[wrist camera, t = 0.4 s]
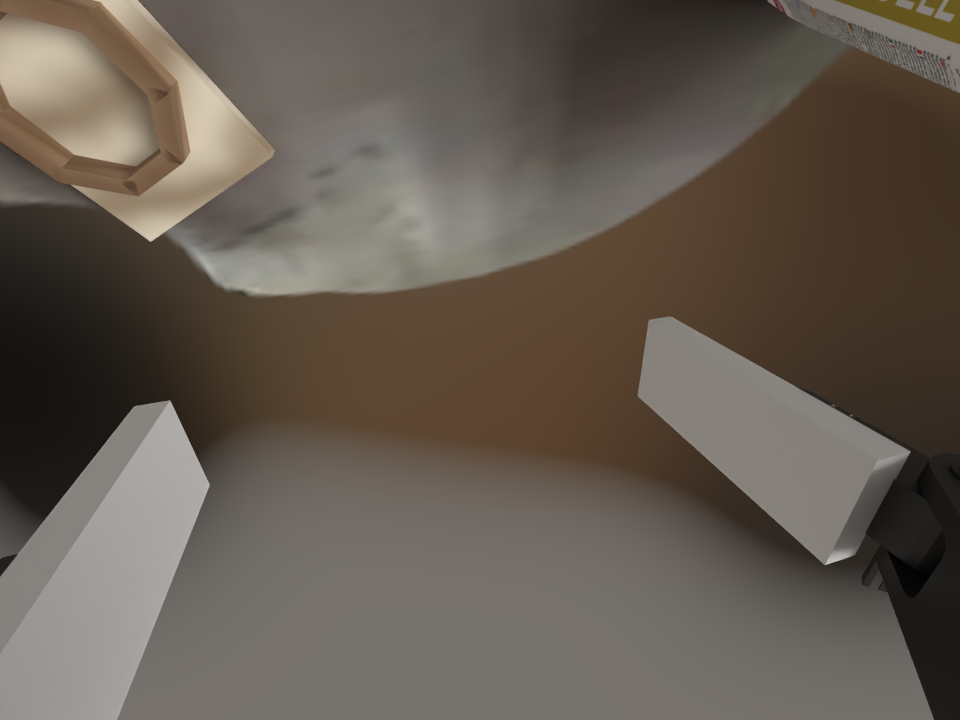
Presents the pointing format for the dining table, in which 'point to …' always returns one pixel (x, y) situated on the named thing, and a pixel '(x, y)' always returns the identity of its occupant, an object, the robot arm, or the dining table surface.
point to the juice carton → (891, 31)
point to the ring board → (118, 110)
